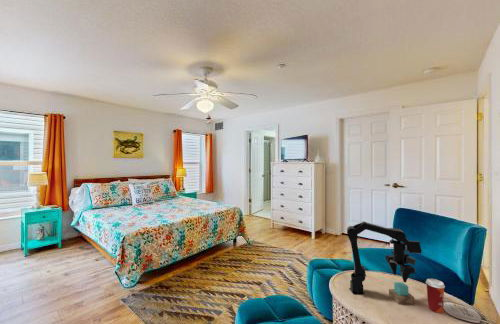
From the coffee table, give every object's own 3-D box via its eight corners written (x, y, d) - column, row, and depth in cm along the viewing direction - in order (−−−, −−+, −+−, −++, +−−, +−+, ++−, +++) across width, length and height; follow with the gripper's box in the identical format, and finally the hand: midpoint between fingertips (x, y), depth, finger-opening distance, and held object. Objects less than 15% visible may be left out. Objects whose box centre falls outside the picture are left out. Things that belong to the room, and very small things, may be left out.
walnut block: (398, 304, 132) (398, 297, 132) (388, 295, 141) (388, 289, 141) (414, 304, 132) (414, 297, 132) (403, 295, 141) (403, 288, 141)
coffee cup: (446, 316, 121) (446, 287, 121) (426, 311, 125) (426, 283, 125) (444, 307, 128) (443, 280, 128) (425, 303, 132) (424, 276, 132)
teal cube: (399, 295, 134) (399, 286, 134) (394, 290, 139) (394, 282, 139) (408, 295, 134) (408, 286, 134) (402, 290, 139) (402, 282, 139)
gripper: (424, 257, 128) (425, 286, 128) (402, 245, 147) (403, 270, 147) (404, 257, 128) (404, 286, 128) (384, 246, 147) (385, 271, 147)
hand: (399, 278), depth 137 cm, fingers open, 9 cm apart
